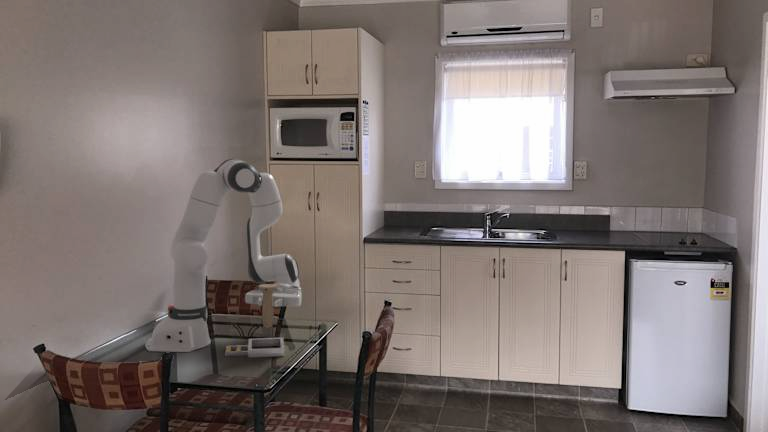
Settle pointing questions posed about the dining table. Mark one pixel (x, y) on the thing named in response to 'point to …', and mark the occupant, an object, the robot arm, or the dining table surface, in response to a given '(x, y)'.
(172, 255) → the robot arm
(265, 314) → the handle
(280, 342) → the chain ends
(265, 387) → the dining table surface
